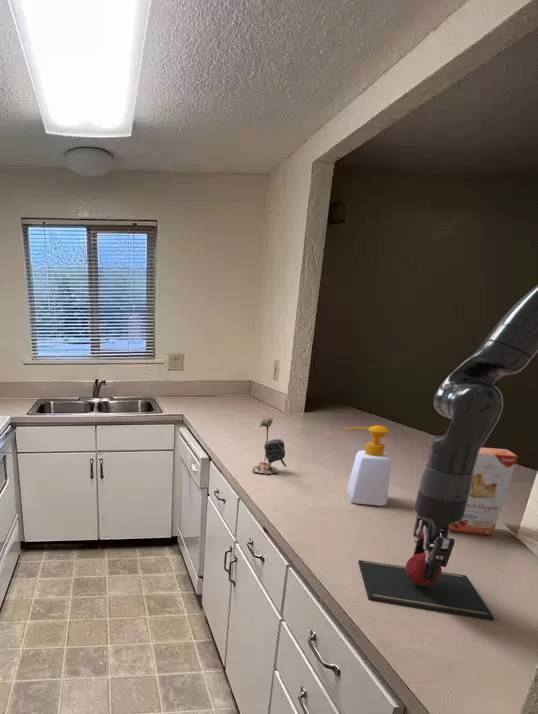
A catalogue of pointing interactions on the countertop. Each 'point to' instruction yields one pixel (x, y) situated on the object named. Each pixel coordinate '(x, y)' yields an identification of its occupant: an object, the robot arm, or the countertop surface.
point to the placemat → (423, 591)
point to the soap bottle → (370, 471)
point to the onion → (419, 570)
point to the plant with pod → (270, 451)
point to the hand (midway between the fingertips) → (423, 570)
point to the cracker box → (487, 491)
